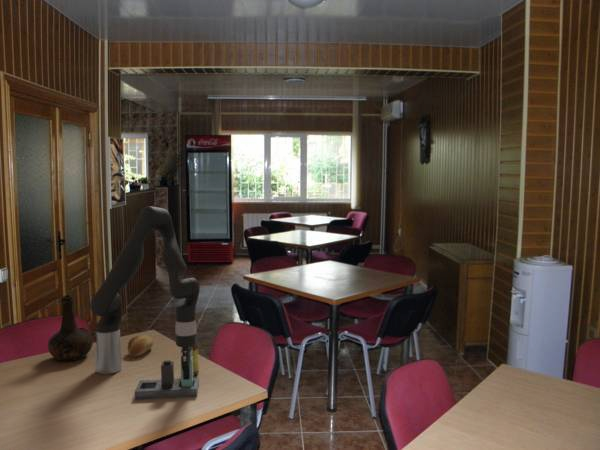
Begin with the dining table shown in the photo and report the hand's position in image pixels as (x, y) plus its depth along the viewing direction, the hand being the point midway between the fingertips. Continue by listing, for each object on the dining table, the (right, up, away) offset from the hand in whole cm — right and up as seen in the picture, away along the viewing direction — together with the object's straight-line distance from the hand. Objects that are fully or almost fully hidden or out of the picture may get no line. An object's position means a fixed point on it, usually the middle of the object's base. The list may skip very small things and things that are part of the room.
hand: (187, 376), depth 188 cm
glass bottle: (-59, -2, +35) cm, 69 cm away
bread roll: (-31, -2, +42) cm, 52 cm away
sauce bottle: (-2, -4, +17) cm, 18 cm away
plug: (0, -4, 0) cm, 4 cm away
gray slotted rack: (-7, -6, 0) cm, 9 cm away
